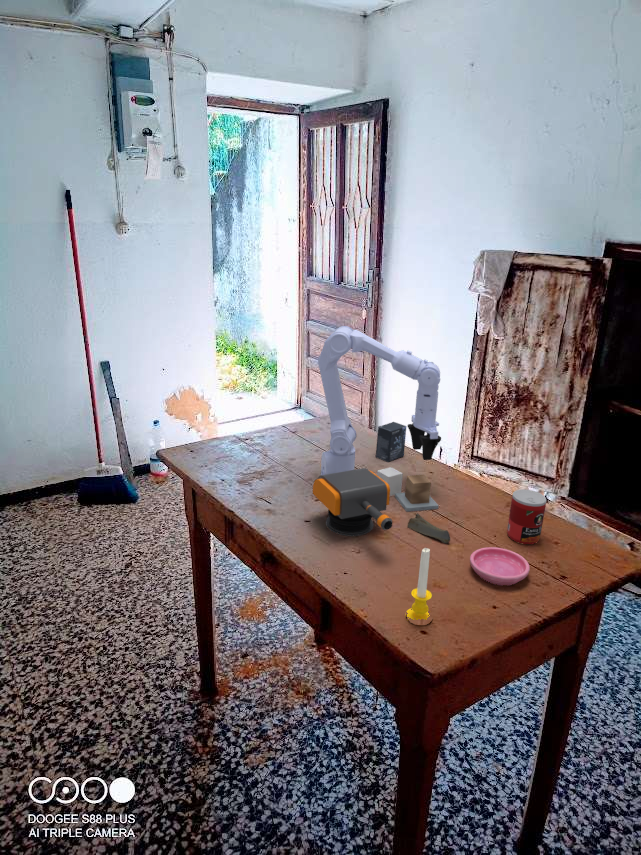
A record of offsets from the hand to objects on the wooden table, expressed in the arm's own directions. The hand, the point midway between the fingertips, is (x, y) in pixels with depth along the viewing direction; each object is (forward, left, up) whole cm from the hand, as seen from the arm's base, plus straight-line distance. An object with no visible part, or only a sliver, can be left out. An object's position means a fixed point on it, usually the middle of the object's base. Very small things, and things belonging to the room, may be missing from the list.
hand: (421, 454), depth 166 cm
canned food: (+15, -31, -11) cm, 36 cm away
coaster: (-4, -9, -10) cm, 14 cm away
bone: (-7, -24, -11) cm, 27 cm away
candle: (-22, -55, -11) cm, 60 cm away
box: (0, +23, -11) cm, 26 cm away
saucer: (+1, -44, -11) cm, 45 cm away
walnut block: (-4, -9, -9) cm, 13 cm away
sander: (-24, -22, -11) cm, 34 cm away
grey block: (-9, -1, -10) cm, 14 cm away
